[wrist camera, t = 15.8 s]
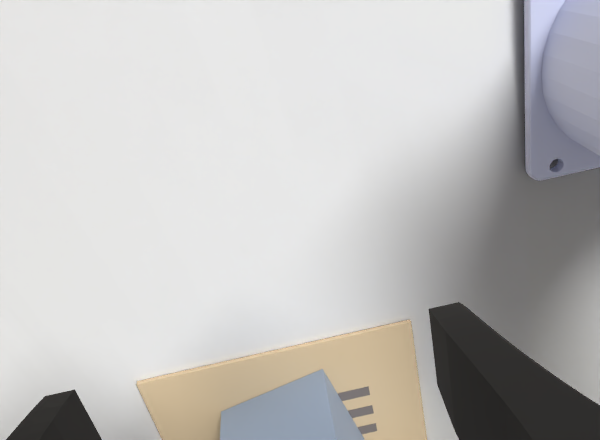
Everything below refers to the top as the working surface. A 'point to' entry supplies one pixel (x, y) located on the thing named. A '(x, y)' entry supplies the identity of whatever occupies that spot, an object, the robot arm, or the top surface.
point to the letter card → (294, 365)
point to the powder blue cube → (292, 414)
